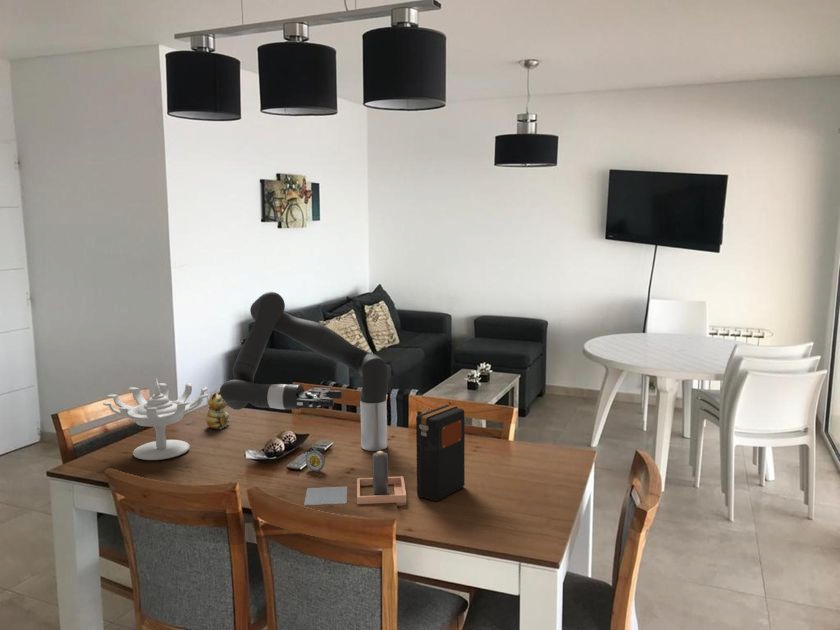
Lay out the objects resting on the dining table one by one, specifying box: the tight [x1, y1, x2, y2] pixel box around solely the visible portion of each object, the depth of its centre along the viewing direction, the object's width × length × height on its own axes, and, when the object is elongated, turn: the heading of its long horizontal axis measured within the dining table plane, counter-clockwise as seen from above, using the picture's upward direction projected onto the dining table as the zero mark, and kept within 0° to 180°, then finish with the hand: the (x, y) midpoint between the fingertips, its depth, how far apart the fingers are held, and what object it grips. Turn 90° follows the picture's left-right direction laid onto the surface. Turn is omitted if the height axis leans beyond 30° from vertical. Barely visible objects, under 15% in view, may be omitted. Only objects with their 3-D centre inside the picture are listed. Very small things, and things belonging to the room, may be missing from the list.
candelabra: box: [102, 377, 209, 461], centre depth 237 cm, size 34×35×27 cm
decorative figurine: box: [205, 389, 231, 430], centre depth 266 cm, size 10×8×15 cm
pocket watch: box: [299, 443, 326, 480], centre depth 215 cm, size 8×8×10 cm
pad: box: [303, 486, 348, 506], centre depth 199 cm, size 12×12×1 cm
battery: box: [372, 450, 389, 495], centre depth 199 cm, size 4×4×13 cm
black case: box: [415, 404, 466, 502], centre depth 201 cm, size 16×9×25 cm, turn 141°
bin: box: [356, 475, 407, 506], centre depth 200 cm, size 14×14×3 cm
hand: (337, 398), depth 203 cm, fingers open, 8 cm apart
